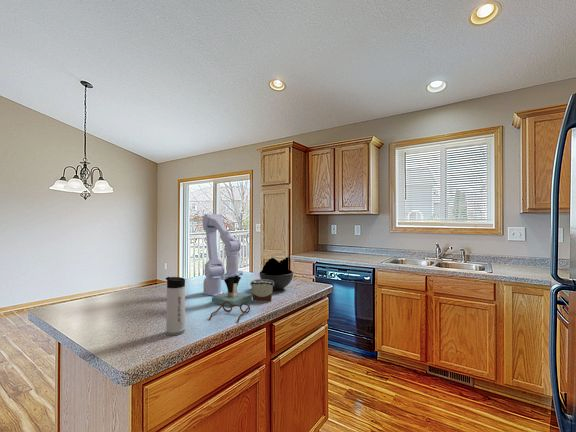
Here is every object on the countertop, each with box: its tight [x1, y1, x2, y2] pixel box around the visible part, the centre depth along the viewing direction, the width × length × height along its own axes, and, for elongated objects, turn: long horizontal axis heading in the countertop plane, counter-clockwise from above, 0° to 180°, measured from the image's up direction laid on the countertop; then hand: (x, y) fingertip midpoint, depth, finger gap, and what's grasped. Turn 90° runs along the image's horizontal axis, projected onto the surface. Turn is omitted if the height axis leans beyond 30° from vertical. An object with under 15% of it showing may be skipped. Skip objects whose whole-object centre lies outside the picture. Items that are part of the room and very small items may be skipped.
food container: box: [249, 278, 274, 303], centre depth 147 cm, size 12×6×10 cm, turn 84°
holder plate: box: [211, 291, 253, 308], centre depth 144 cm, size 14×14×2 cm
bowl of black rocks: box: [259, 256, 294, 291], centre depth 169 cm, size 20×20×19 cm
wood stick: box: [227, 283, 238, 298], centre depth 144 cm, size 4×2×9 cm, turn 60°
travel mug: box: [165, 276, 186, 337], centre depth 104 cm, size 6×7×20 cm
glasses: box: [208, 301, 251, 324], centre depth 121 cm, size 13×13×5 cm
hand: (232, 291), depth 144 cm, fingers closed on wood stick, 2 cm apart
